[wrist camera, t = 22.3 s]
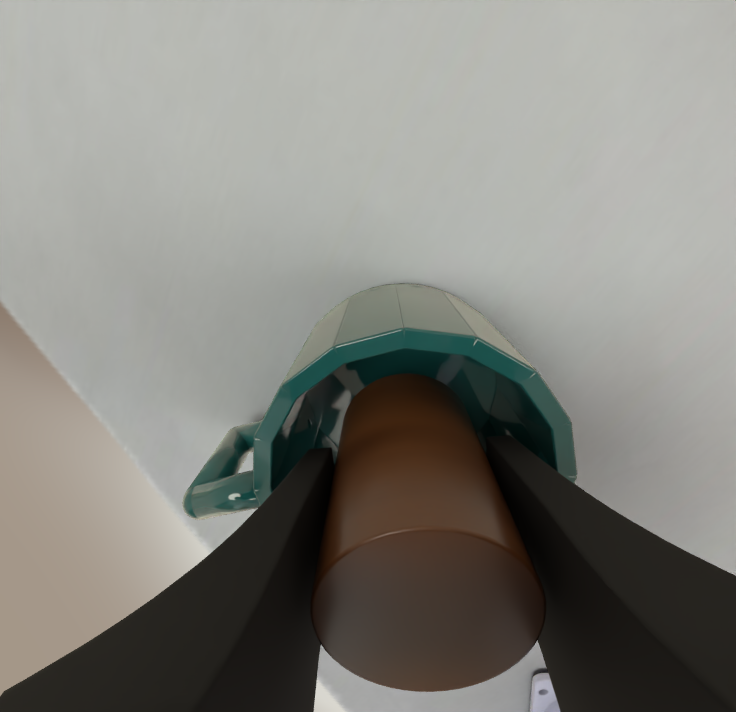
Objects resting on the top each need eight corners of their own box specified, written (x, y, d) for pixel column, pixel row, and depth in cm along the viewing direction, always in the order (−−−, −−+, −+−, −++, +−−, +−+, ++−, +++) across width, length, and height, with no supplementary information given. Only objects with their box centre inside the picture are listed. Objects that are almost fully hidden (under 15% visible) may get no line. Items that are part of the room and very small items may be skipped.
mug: (484, 256, 14) (557, 287, 8) (517, 446, 16) (589, 570, 11) (199, 335, 15) (91, 408, 9) (273, 498, 18) (223, 631, 12)
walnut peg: (470, 478, 13) (540, 690, 7) (350, 486, 13) (326, 696, 7) (469, 367, 11) (555, 521, 6) (334, 378, 12) (290, 535, 6)
